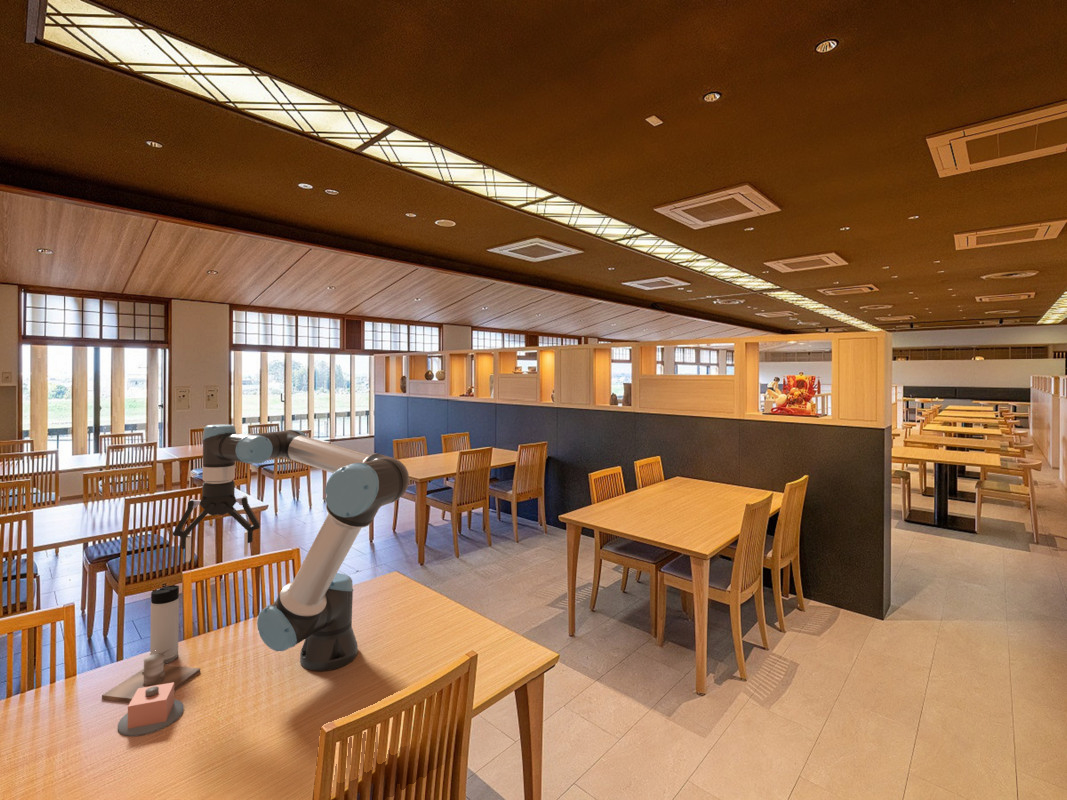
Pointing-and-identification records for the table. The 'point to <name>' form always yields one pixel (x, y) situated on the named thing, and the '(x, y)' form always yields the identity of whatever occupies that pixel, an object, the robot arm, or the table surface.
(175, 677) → the brown wooden stand
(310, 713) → the table surface
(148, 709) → the pink block with knob
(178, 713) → the mat
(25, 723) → the table surface
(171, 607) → the travel mug
